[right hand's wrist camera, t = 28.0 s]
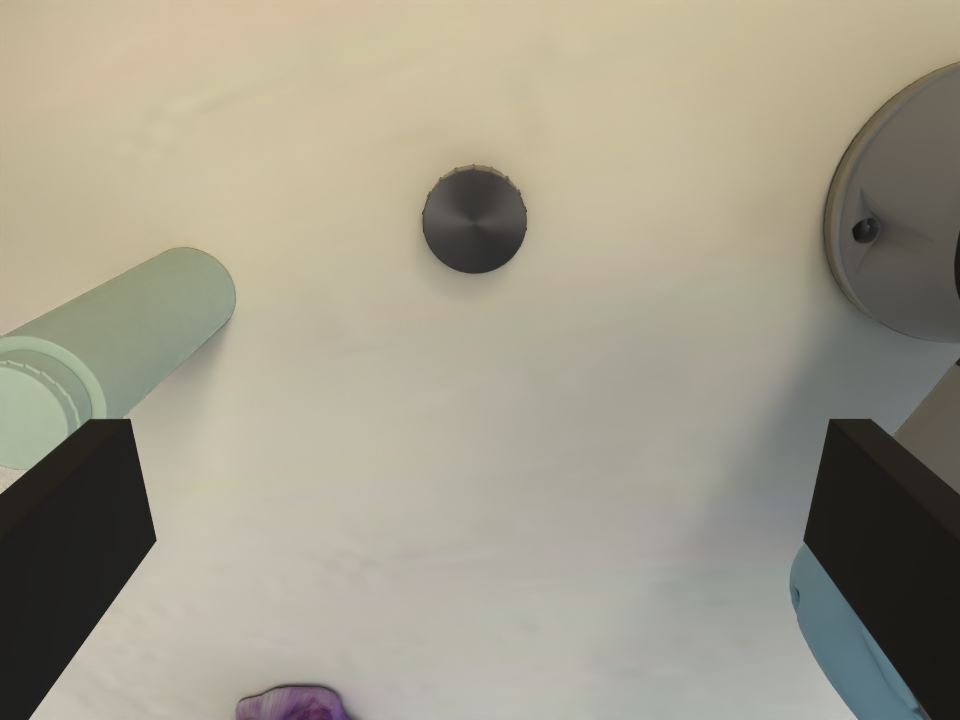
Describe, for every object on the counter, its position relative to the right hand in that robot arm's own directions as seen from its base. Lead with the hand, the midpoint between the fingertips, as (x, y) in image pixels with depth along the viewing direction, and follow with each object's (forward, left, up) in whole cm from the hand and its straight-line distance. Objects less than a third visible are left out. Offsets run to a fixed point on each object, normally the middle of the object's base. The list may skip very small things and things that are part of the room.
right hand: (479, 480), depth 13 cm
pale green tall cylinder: (+14, -11, -27) cm, 33 cm away
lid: (0, 0, -26) cm, 26 cm away
